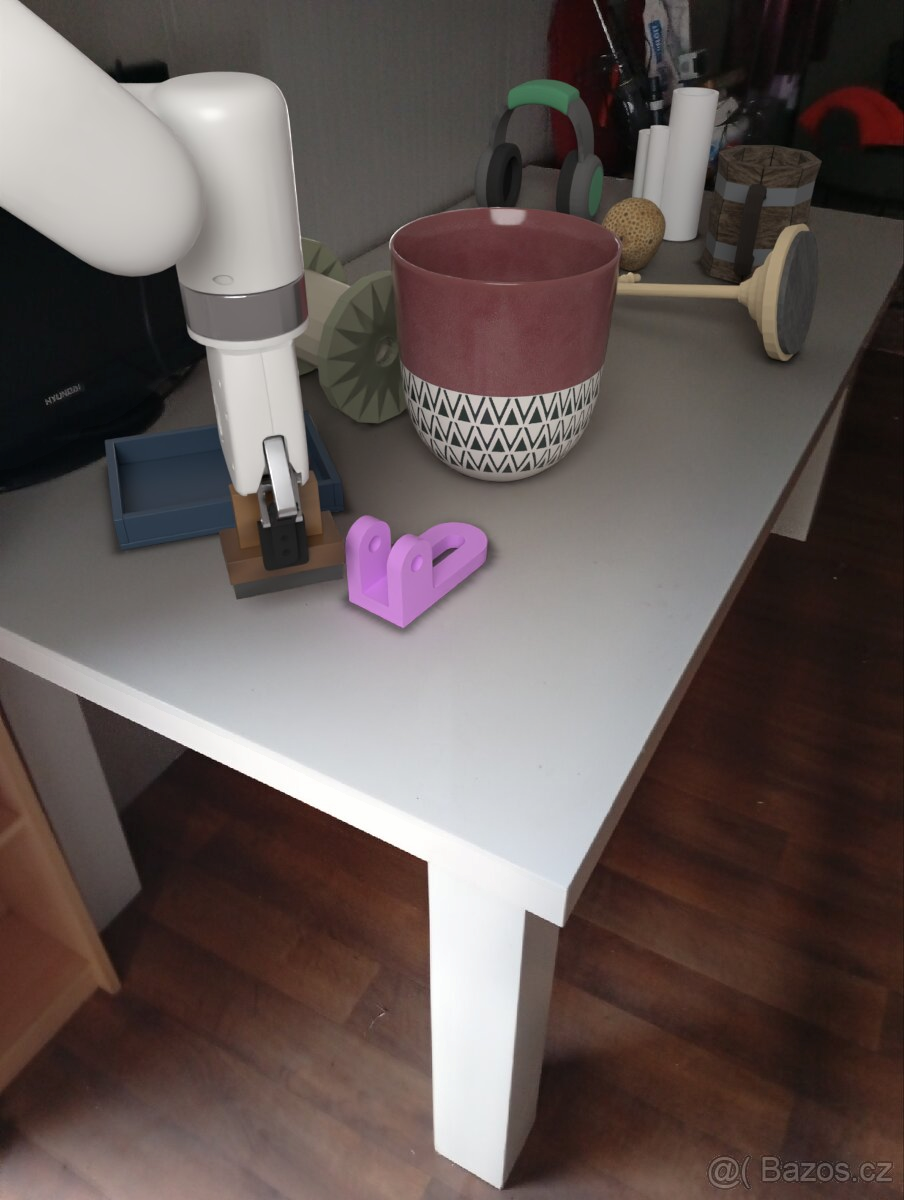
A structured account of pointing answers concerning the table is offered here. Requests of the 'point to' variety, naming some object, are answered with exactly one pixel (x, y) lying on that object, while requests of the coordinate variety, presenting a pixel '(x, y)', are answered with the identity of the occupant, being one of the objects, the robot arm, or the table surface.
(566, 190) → the headphones
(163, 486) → the tray
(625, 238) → the natural sponge
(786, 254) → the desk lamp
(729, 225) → the mug
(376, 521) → the bracket
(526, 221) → the planter
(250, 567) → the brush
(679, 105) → the vase
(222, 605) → the table surface
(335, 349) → the spool
